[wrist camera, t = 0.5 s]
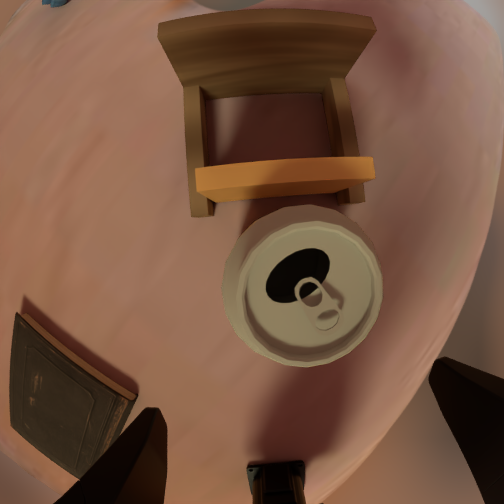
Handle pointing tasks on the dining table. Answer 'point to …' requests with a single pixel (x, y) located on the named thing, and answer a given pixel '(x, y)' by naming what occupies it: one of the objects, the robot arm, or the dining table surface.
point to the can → (303, 285)
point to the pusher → (282, 177)
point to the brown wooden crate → (265, 72)
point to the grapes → (54, 2)
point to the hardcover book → (62, 399)
